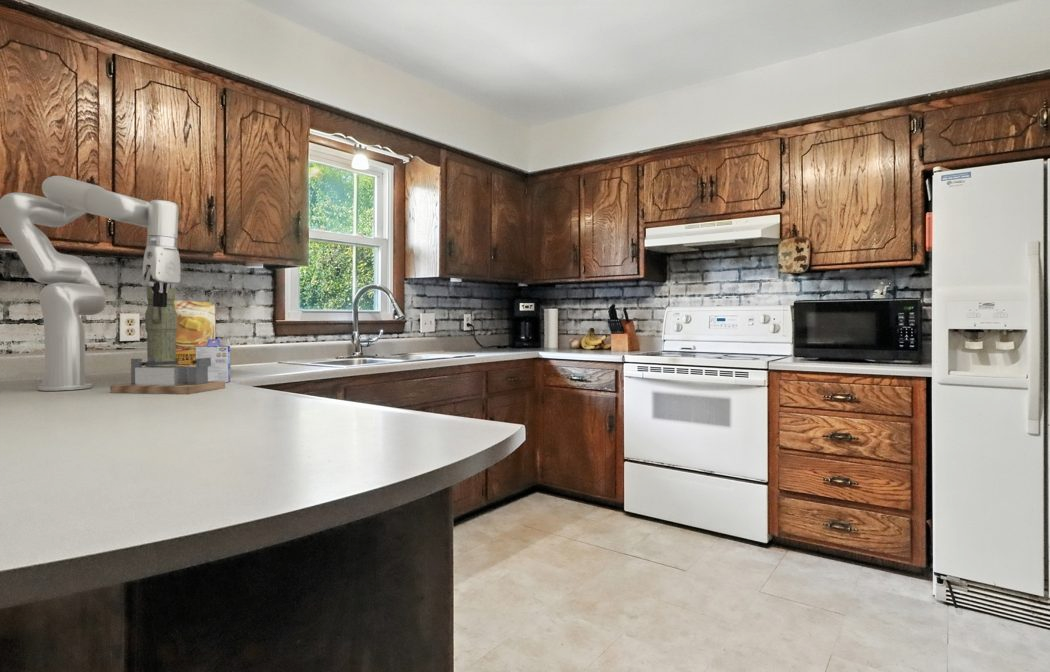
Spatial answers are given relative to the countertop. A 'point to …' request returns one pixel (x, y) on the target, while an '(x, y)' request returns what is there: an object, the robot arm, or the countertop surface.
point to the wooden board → (167, 388)
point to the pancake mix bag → (193, 327)
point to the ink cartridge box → (216, 360)
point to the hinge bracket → (139, 365)
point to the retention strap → (169, 362)
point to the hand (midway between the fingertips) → (159, 306)
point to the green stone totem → (161, 328)
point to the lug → (199, 371)
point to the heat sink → (162, 375)
